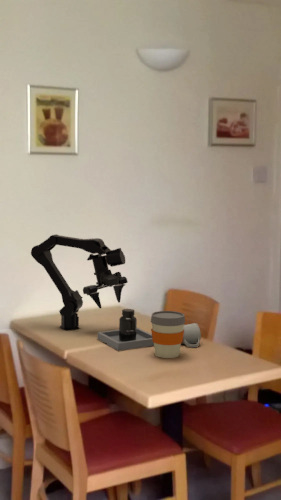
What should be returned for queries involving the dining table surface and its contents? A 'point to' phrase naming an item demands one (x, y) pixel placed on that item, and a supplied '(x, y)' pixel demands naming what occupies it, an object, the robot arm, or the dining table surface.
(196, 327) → the ceramic mug
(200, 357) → the dining table surface
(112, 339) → the tray
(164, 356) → the reusable coffee cup
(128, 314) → the supplement bottle
